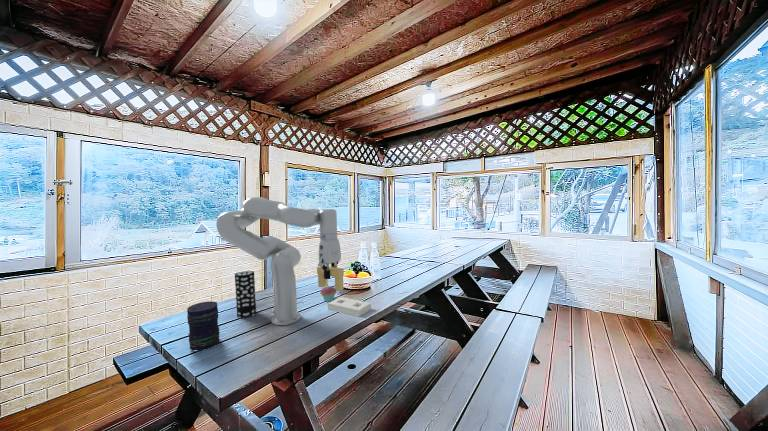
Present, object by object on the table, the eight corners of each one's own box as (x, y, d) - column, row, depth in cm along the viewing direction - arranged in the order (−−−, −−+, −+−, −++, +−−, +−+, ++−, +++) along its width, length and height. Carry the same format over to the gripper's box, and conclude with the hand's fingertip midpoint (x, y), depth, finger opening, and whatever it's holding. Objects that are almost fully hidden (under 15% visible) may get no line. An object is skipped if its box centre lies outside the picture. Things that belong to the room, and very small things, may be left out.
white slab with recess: (327, 309, 140) (327, 303, 139) (340, 302, 148) (340, 296, 148) (359, 316, 130) (358, 310, 130) (371, 309, 138) (370, 303, 138)
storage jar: (214, 335, 115) (212, 299, 114) (224, 342, 109) (222, 304, 108) (185, 345, 107) (182, 307, 106) (194, 354, 101) (191, 313, 100)
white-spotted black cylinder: (232, 316, 133) (230, 274, 132) (247, 310, 141) (245, 270, 140) (246, 319, 130) (243, 276, 129) (260, 312, 138) (258, 271, 137)
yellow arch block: (317, 286, 129) (316, 267, 128) (322, 284, 132) (322, 265, 131) (339, 291, 122) (338, 270, 122) (344, 288, 125) (343, 268, 125)
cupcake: (334, 302, 148) (334, 280, 147) (318, 303, 148) (317, 280, 147) (337, 296, 157) (337, 275, 156) (322, 297, 157) (321, 275, 156)
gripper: (321, 240, 117) (323, 283, 118) (347, 235, 131) (348, 274, 132) (308, 239, 121) (310, 281, 122) (334, 234, 135) (336, 272, 136)
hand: (330, 277), depth 127 cm, fingers closed on yellow arch block, 3 cm apart
